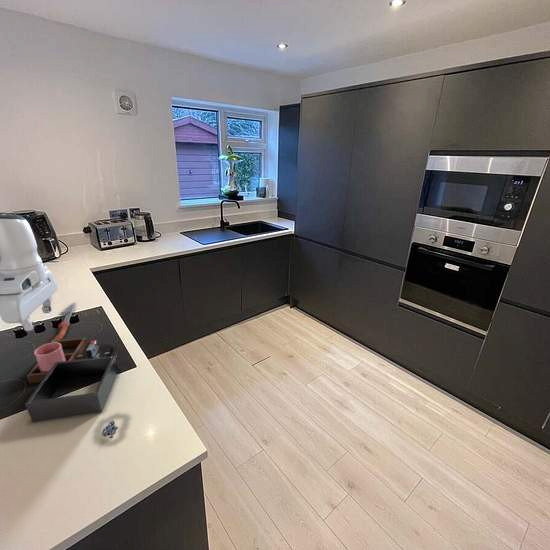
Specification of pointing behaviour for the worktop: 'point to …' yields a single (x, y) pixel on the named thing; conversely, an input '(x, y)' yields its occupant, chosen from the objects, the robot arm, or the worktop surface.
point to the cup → (49, 356)
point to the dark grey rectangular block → (92, 349)
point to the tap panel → (102, 352)
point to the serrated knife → (63, 324)
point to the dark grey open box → (69, 406)
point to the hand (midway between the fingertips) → (39, 320)
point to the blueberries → (110, 429)
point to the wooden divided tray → (37, 376)
